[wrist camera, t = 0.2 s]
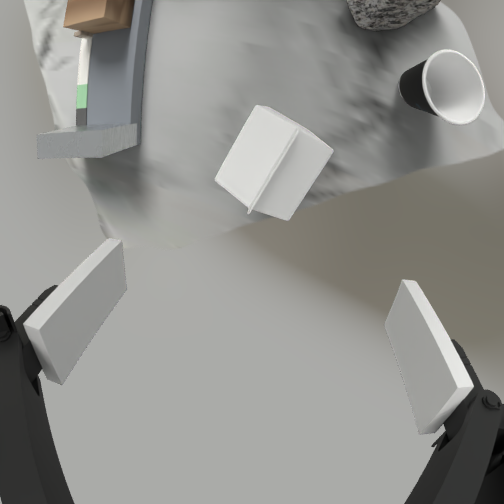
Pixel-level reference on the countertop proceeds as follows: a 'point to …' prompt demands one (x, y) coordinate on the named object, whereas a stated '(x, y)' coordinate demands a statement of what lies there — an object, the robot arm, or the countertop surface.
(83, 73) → the gauge track
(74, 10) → the block
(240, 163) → the milk
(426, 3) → the rock
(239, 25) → the countertop surface
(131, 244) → the countertop surface
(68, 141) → the grey metal block
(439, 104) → the dixie cup
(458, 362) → the robot arm
